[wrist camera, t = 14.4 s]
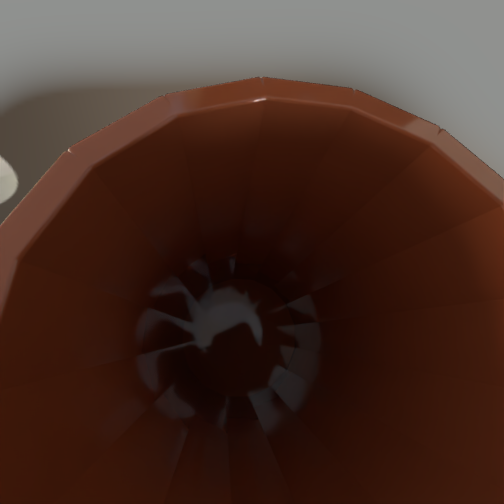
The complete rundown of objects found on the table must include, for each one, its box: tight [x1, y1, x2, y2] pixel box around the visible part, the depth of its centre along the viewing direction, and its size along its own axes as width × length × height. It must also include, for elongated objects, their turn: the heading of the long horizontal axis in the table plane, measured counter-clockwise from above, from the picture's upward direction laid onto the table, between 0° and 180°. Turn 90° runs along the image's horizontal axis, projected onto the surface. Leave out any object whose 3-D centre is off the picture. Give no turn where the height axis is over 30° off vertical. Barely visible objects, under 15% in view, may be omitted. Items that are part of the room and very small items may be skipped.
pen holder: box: [0, 77, 504, 504], centre depth 9 cm, size 7×7×13 cm
